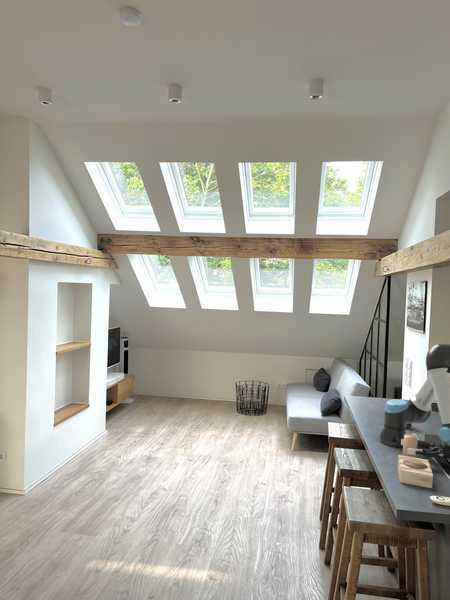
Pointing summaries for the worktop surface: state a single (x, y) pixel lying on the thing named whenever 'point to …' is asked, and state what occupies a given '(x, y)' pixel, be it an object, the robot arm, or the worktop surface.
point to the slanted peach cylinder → (409, 444)
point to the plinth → (414, 471)
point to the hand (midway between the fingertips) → (404, 446)
